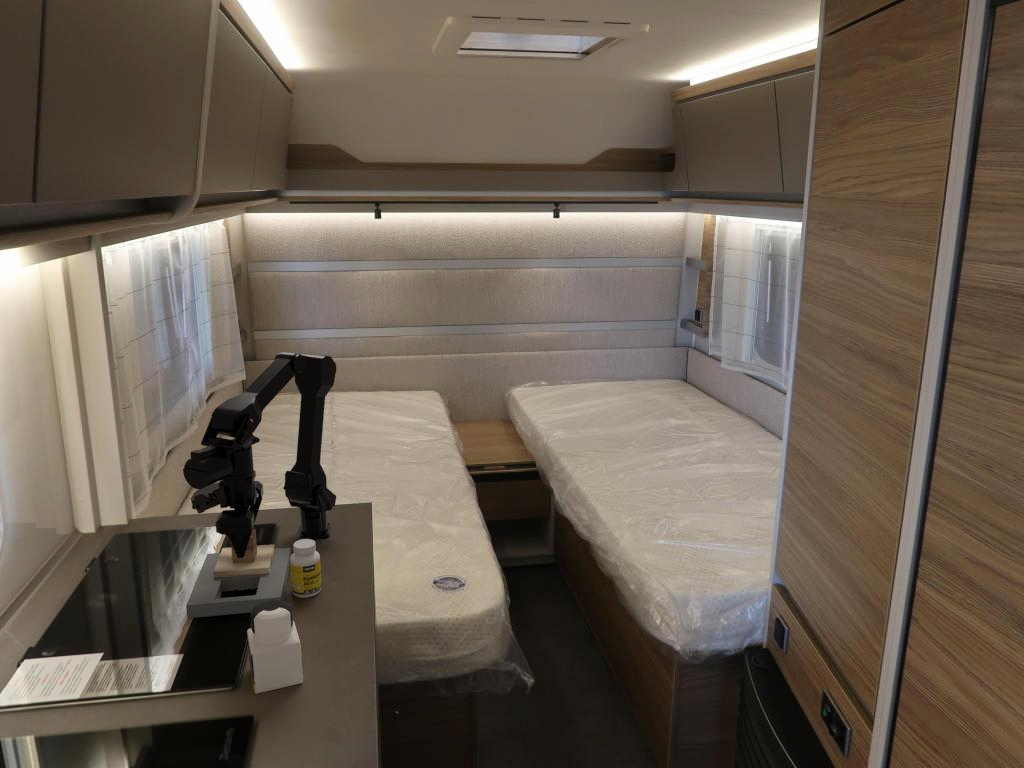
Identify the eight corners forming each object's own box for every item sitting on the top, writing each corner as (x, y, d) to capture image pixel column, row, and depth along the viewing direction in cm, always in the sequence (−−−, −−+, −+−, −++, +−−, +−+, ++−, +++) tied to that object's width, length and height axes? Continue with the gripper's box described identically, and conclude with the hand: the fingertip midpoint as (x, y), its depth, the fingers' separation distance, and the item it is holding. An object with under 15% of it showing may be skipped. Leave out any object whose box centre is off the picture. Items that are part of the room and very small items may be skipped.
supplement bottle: (304, 601, 142) (301, 552, 140) (286, 592, 145) (282, 544, 143) (327, 590, 146) (325, 542, 144) (309, 581, 149) (306, 534, 147)
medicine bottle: (250, 668, 122) (244, 600, 119) (296, 658, 125) (291, 591, 122) (254, 695, 116) (248, 623, 113) (303, 683, 119) (298, 613, 116)
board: (208, 565, 155) (207, 553, 155) (291, 558, 158) (290, 547, 158) (187, 618, 136) (186, 605, 136) (281, 609, 139) (280, 597, 139)
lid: (222, 553, 155) (220, 524, 153) (274, 549, 157) (272, 521, 155) (213, 577, 145) (211, 547, 144) (269, 573, 147) (267, 543, 146)
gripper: (202, 456, 154) (209, 529, 158) (181, 492, 136) (190, 573, 140) (260, 453, 156) (266, 525, 160) (248, 488, 138) (254, 568, 142)
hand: (244, 546), depth 150 cm, fingers open, 9 cm apart
